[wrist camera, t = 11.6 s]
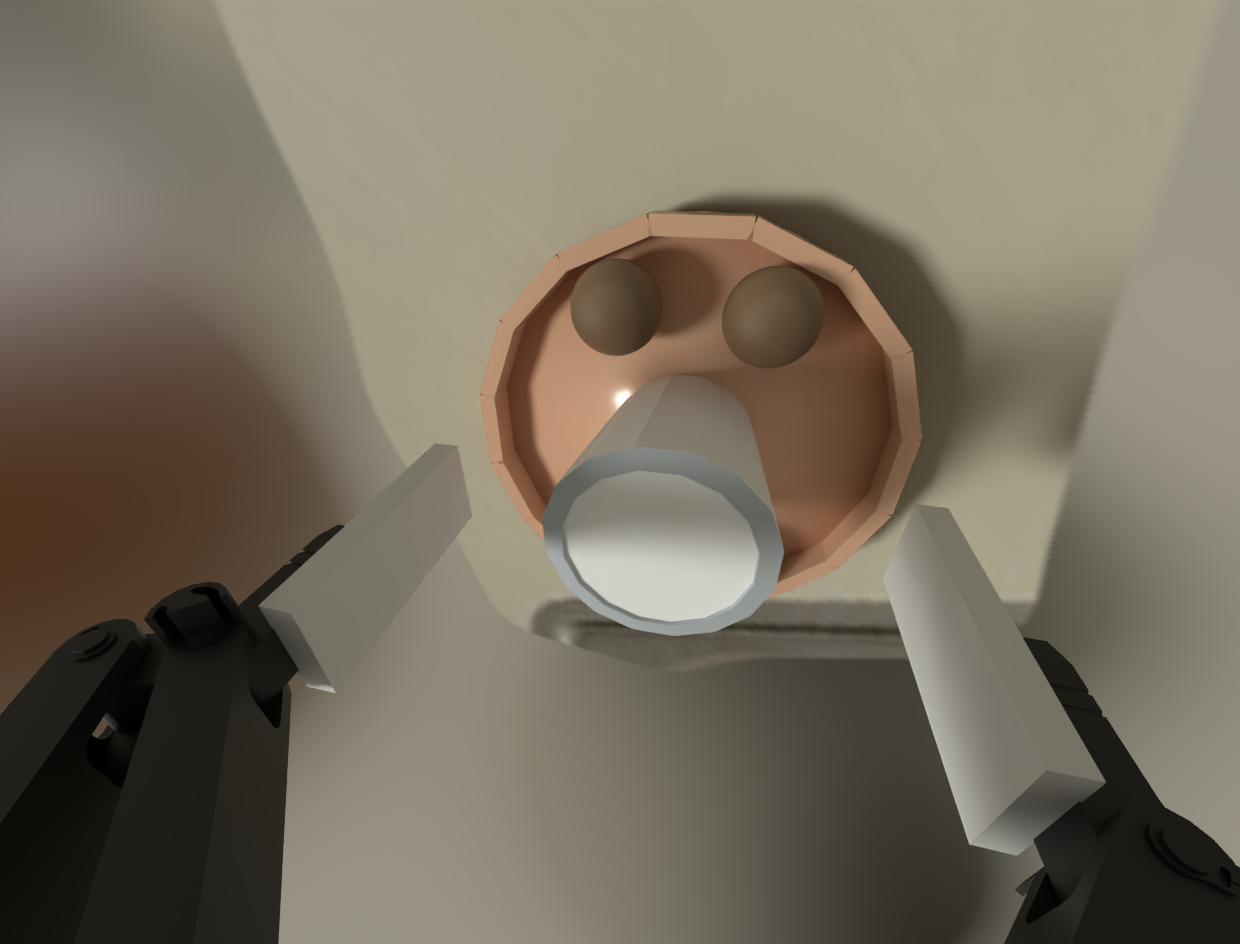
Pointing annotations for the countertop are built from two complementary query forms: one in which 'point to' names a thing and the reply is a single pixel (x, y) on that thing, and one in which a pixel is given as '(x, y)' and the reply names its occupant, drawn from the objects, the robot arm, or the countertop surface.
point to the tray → (716, 380)
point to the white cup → (668, 513)
